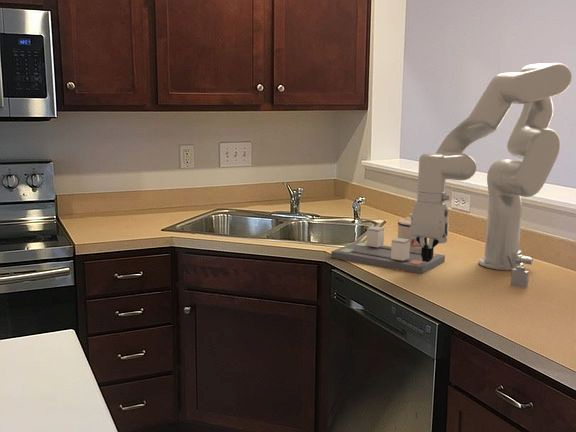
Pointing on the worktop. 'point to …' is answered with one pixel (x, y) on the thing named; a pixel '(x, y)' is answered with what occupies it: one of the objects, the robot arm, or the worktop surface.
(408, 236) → the teacup with lid
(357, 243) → the panel
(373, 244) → the on switch
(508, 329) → the worktop surface
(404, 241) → the beige slider knob
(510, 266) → the lighter
